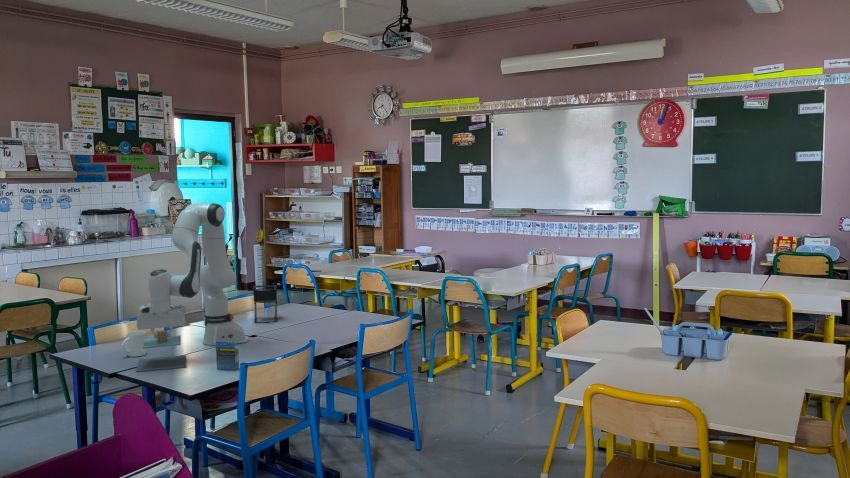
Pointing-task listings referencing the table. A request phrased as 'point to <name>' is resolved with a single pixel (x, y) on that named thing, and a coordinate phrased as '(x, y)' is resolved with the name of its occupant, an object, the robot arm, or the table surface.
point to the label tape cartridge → (227, 356)
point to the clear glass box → (265, 299)
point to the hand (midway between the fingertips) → (162, 337)
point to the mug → (134, 344)
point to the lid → (162, 341)
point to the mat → (161, 363)
